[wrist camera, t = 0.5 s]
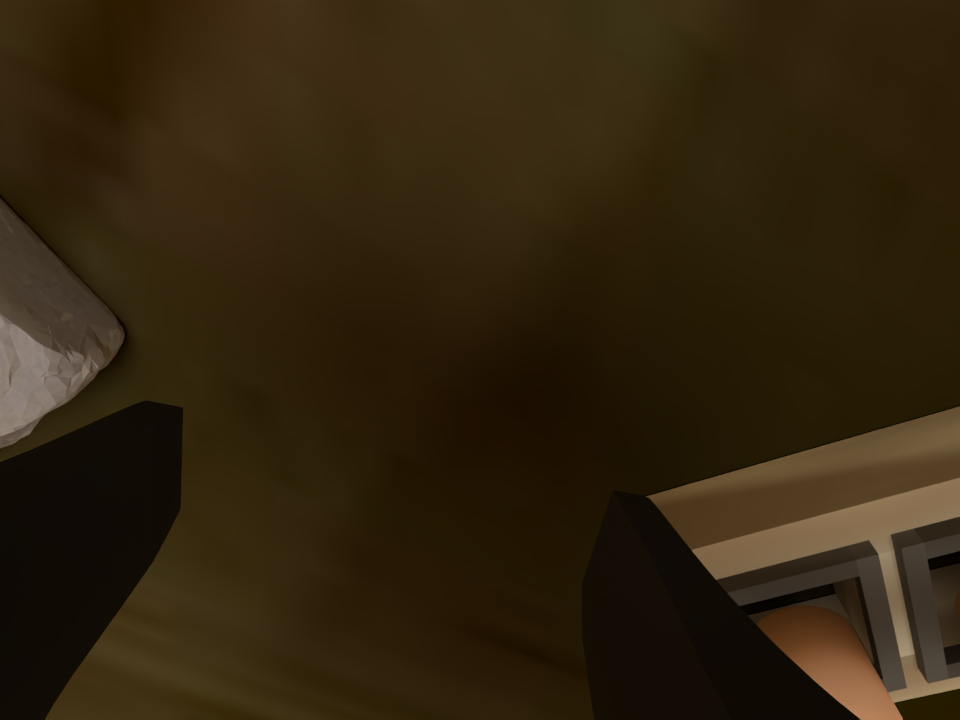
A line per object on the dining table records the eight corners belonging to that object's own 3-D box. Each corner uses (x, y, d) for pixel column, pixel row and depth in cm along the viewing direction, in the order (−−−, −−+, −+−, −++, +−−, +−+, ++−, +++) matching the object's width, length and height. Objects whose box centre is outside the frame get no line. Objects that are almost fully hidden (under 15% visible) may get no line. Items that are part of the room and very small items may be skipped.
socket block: (1054, 583, 24) (1138, 669, 21) (703, 666, 27) (729, 755, 23) (1036, 384, 21) (1130, 448, 18) (642, 497, 24) (662, 572, 20)
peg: (863, 671, 22) (921, 778, 19) (756, 695, 22) (794, 803, 19) (844, 593, 20) (902, 694, 17) (731, 621, 21) (768, 723, 18)
